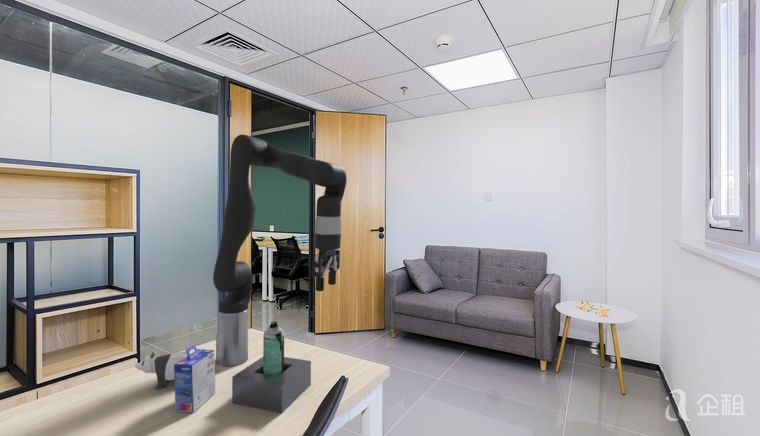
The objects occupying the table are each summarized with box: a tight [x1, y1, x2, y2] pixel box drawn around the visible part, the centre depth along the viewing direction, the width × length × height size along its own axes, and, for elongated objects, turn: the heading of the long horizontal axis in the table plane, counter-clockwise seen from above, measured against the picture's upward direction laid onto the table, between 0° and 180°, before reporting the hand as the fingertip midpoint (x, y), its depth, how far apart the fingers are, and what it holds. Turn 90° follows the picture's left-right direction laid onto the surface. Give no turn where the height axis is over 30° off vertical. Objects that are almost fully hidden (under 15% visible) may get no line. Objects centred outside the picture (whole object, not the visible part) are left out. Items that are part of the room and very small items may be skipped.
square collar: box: [231, 356, 312, 414], centre depth 96 cm, size 15×15×7 cm
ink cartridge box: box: [173, 344, 216, 414], centre depth 91 cm, size 10×6×14 cm, turn 174°
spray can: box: [262, 320, 285, 377], centre depth 96 cm, size 6×6×20 cm
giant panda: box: [134, 351, 191, 390], centre depth 100 cm, size 15×6×10 cm, turn 111°
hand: (326, 287), depth 100 cm, fingers open, 8 cm apart
